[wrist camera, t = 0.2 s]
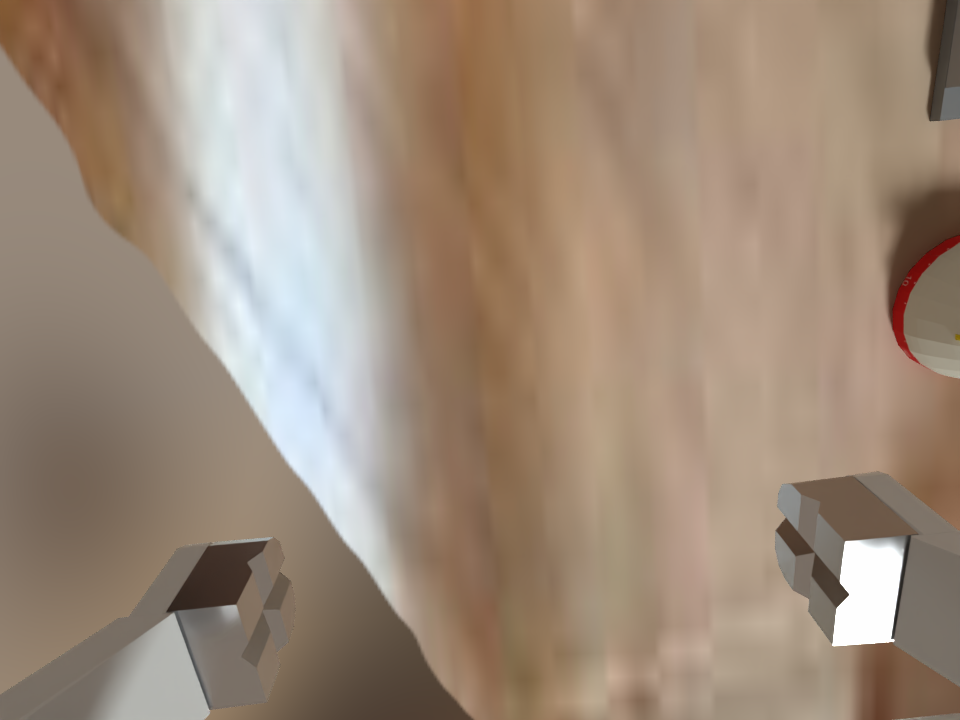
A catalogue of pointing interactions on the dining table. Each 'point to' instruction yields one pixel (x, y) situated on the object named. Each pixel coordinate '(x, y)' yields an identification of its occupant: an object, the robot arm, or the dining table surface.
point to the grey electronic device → (948, 68)
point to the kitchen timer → (931, 310)
